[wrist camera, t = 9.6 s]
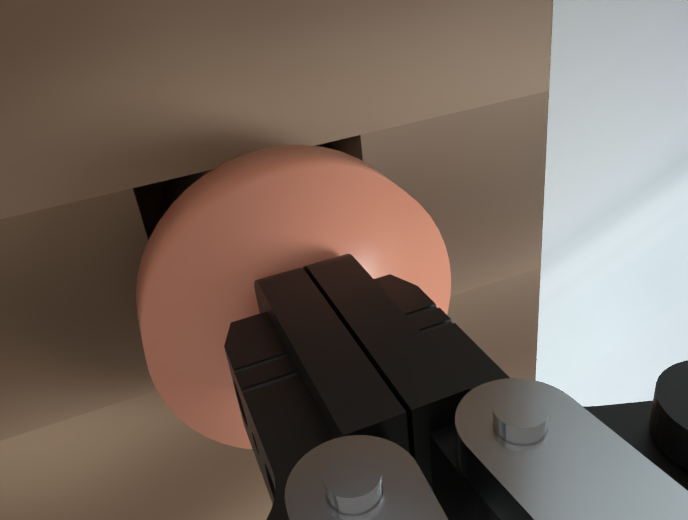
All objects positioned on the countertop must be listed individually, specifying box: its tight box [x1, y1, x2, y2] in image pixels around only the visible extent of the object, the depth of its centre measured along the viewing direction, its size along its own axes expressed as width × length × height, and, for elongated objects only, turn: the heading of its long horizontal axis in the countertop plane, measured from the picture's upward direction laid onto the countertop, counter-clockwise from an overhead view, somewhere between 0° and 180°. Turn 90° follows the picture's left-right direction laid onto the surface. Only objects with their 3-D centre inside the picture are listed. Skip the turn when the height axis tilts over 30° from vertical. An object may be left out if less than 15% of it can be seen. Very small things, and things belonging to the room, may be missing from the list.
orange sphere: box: [136, 145, 451, 450], centre depth 12 cm, size 5×5×5 cm
